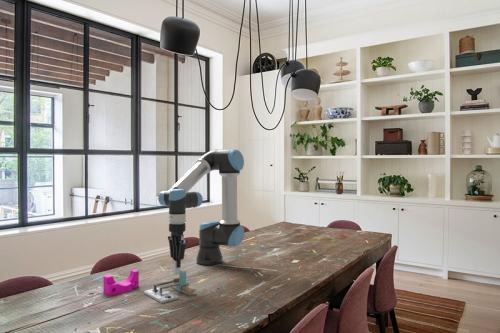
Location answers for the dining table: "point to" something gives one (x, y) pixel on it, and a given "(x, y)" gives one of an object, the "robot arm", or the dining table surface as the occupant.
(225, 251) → the dining table surface
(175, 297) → the bolt plate
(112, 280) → the toy block
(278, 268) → the dining table surface
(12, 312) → the dining table surface
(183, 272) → the sliding trammel head
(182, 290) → the rail
